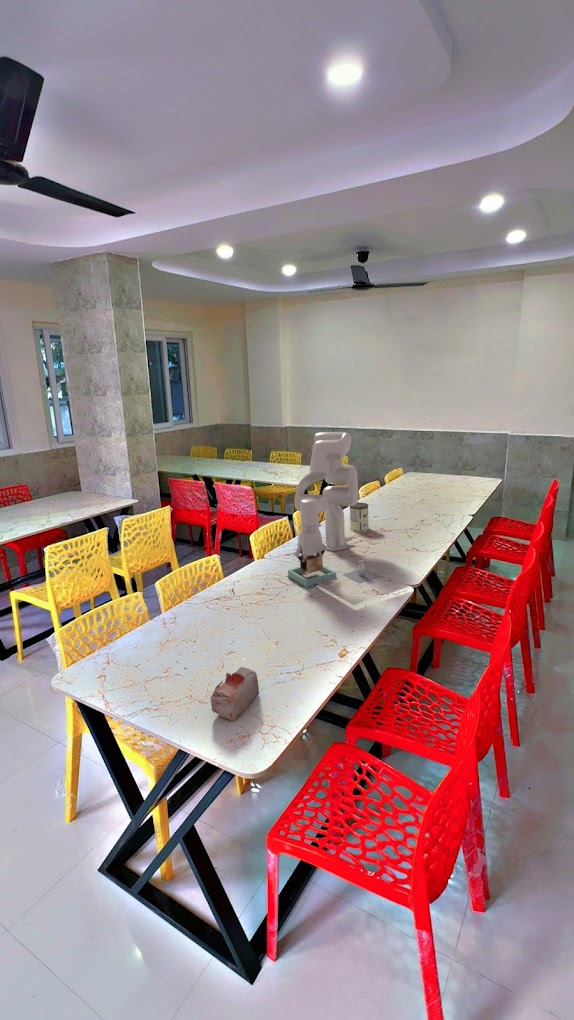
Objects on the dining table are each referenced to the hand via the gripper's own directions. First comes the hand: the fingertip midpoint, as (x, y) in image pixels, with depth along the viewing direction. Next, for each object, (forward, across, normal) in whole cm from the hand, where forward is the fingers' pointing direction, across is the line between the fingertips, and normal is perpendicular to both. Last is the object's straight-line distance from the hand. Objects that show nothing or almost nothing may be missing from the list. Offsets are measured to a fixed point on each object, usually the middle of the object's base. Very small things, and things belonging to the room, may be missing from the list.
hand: (311, 567), depth 218 cm
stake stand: (+5, -17, +13) cm, 22 cm away
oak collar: (+1, 0, 0) cm, 1 cm away
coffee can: (+5, -60, -43) cm, 74 cm away
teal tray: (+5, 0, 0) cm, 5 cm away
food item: (+6, +64, +61) cm, 89 cm away
